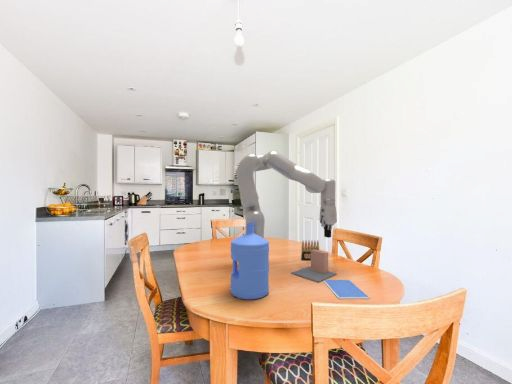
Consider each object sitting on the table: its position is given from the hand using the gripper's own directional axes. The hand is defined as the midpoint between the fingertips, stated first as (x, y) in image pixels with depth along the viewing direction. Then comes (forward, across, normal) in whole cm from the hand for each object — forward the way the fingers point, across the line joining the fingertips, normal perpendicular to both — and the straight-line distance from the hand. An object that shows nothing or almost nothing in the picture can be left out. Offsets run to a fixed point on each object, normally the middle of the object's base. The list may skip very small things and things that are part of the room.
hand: (327, 236), depth 132 cm
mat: (+17, -13, 0) cm, 21 cm away
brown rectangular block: (+16, -8, 0) cm, 18 cm away
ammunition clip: (+17, +7, +16) cm, 25 cm away
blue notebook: (+18, -19, -20) cm, 32 cm away
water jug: (+17, -51, +5) cm, 54 cm away
